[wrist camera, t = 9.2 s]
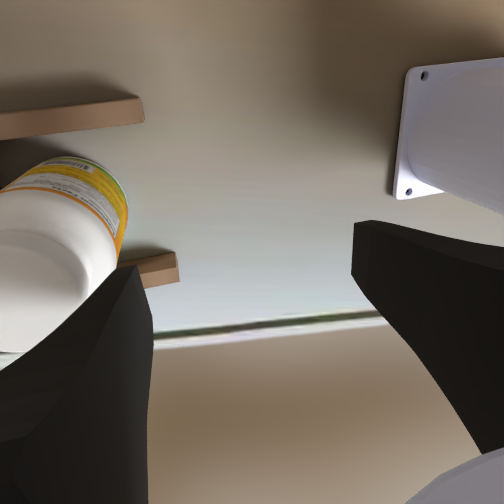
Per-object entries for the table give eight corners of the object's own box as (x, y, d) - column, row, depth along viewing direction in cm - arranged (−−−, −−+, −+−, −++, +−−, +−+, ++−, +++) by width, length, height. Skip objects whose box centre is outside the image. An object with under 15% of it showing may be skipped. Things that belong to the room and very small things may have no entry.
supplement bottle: (77, 263, 20) (18, 394, 12) (-3, 193, 18) (-151, 298, 9) (149, 212, 20) (140, 310, 12) (78, 133, 17) (0, 185, 9)
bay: (140, 97, 17) (137, 99, 15) (178, 265, 22) (179, 281, 20) (-58, 119, 16) (-85, 124, 14) (29, 294, 20) (16, 314, 19)
